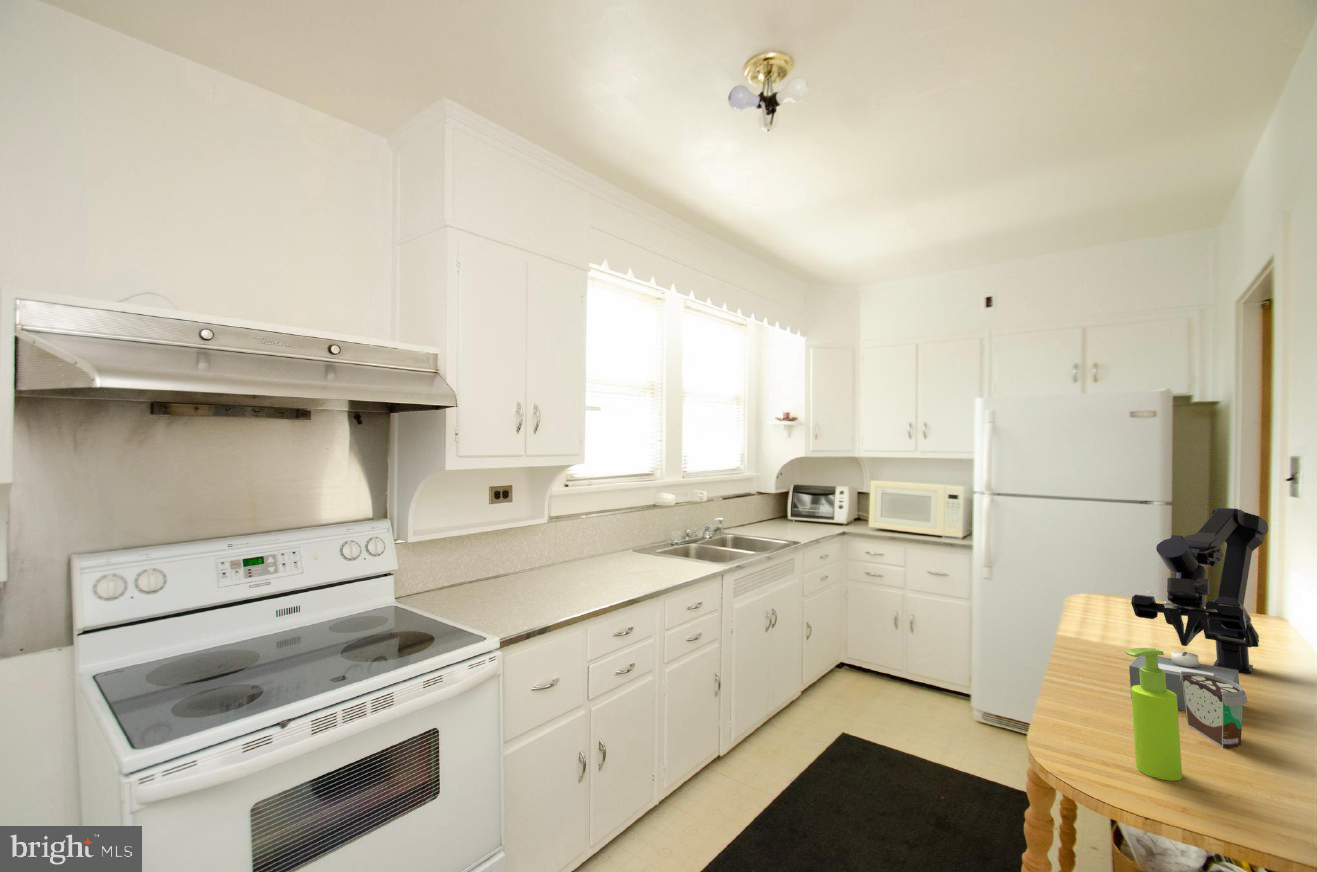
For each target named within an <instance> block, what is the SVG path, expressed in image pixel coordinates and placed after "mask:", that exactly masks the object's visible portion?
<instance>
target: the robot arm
mask: <svg viewBox="0 0 1317 872" xmlns="http://www.w3.org/2000/svg"><path fill="white" fill-rule="evenodd" d="M1268 531H1269V525H1268V522H1267V520H1265V519H1263V517H1261V516H1259V515H1256V514H1252V513H1250V512H1245V511H1244V510H1242V509H1239V508H1233V507H1232V508H1229V507H1217V508H1213V510H1212V514H1211V516H1210V517H1209V518H1208V519H1207V521H1206V522H1205V523H1204V524H1203V525H1202V526H1201V528H1200V529H1199V530H1198V531H1197V532H1196V533H1193V534H1188V535H1185V536H1183V535H1180V534H1172V535H1171V536H1170V538H1166V539H1163V540H1162V541H1160V542H1159V543H1157V544H1156V547H1155V549H1156V552H1157V554H1158V555H1159V557H1160V559H1161V560H1162V562H1163V564H1165V566H1166V568H1167V569H1168V570H1169V571H1171V572H1172V577H1168V578H1167V580H1166V581H1167V583H1166V584H1167V586H1166V589H1167V590H1166V592H1167V596H1166V597H1167V601H1164V602H1163V603H1160V602H1159V603H1158V602H1156V598H1155V596H1152V595H1143V594H1134V595H1133V596H1132V597H1131V602H1130V603H1131V606H1132V609H1133V613H1134V615H1135V617H1138V618H1141V619H1147V620H1154V619H1157V618H1158V614H1163V616H1164V621H1165V622H1166V624H1168V625H1172V627H1173V628H1174V630H1175V631H1176V633H1177V636H1178V639H1179V642H1180V645H1181V646H1182V647H1187V646H1189V644H1190V643H1191V642H1192V641H1193V640H1194V639H1195V638H1196V636H1197V635H1199V634H1200V633H1201V632H1202V631H1203V635H1204V638H1205V640H1211V641H1215V649H1216V652H1215V653H1216V660H1215V661H1214V663H1213V666H1217V667H1223V668H1229V669H1235V670H1238V672H1240V673H1247V674H1252V670H1253V668H1254V664H1250V658H1249V657H1250V656H1249V648H1259V647H1260V646H1259V645H1260V644H1259V642H1260V639H1259V638H1260V635H1259V634H1258V632H1257V631H1256V629H1255V627H1254V625H1253V624H1252V623H1251V622H1252V618H1251V616H1250V614H1249V613H1248V611H1247V609H1246V608H1245V607H1244V604H1245V598H1246V593H1247V586H1248V580H1249V572H1250V567H1251V562H1252V555H1253V552H1254V551H1255V550H1256V549H1257V548H1259V547H1260V546H1262V544H1263V543H1264V540H1265V536H1266V535H1267V534H1268V533H1269V532H1268ZM1224 543H1225V544H1226V545H1225V546H1226V547H1225V553H1223V551H1222V549H1221V546H1222V545H1223V544H1224ZM1223 556H1224V558H1223ZM1222 558H1223V564H1222V569H1221V576H1220V582H1219V586H1218V592H1217V593H1218V594H1217V598H1215V599H1214V600H1208V601H1205V600H1206V596H1210V594H1211V593H1210V591H1211V588H1210V580H1209V579H1208V578H1207V569H1206V568H1205V567H1206V566H1207V567H1215V566H1217V565H1218V564H1219V563H1220V562H1221V561H1222ZM1204 566H1205V567H1204ZM1168 601H1169V602H1168ZM1182 617H1187V621H1186V626H1185V625H1184V620H1183V618H1182Z"/></svg>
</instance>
